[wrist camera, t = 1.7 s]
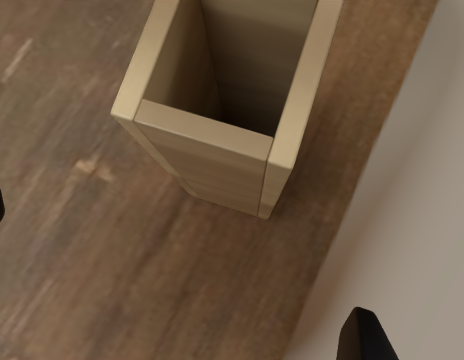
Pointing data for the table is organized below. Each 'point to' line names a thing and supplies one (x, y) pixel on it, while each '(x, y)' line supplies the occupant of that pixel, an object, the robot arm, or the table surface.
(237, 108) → the square pencil holder
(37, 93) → the table surface
